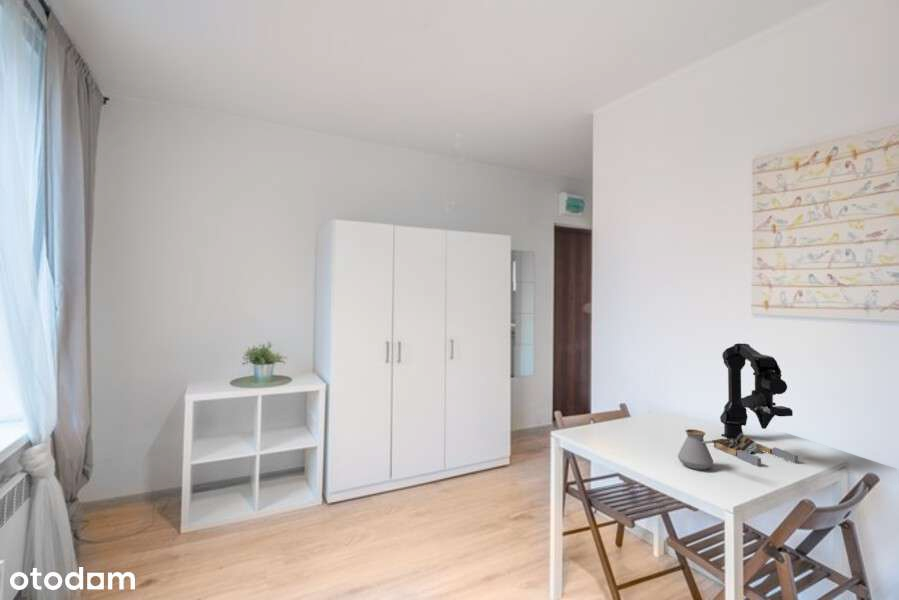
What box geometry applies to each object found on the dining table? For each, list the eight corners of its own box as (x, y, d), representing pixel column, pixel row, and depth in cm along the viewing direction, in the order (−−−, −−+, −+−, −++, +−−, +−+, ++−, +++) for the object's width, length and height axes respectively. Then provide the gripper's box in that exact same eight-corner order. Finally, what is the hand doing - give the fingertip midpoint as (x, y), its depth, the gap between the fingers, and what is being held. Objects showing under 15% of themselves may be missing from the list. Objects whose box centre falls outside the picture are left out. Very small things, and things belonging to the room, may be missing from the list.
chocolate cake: (743, 458, 166) (760, 436, 168) (725, 448, 172) (741, 426, 174) (746, 469, 171) (762, 447, 174) (728, 459, 177) (744, 437, 179)
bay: (737, 457, 165) (737, 450, 165) (775, 454, 169) (775, 447, 169) (757, 466, 157) (757, 458, 157) (798, 463, 160) (798, 455, 160)
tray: (714, 447, 177) (714, 442, 177) (748, 444, 180) (748, 440, 180) (736, 456, 167) (736, 451, 167) (772, 454, 170) (772, 449, 170)
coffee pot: (670, 462, 161) (670, 423, 161) (693, 458, 164) (693, 420, 164) (722, 485, 140) (723, 441, 140) (747, 481, 144) (747, 437, 144)
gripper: (726, 384, 172) (726, 422, 172) (768, 394, 154) (768, 437, 154) (749, 383, 174) (749, 421, 174) (793, 393, 156) (793, 435, 156)
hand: (763, 428), depth 164 cm, fingers closed
